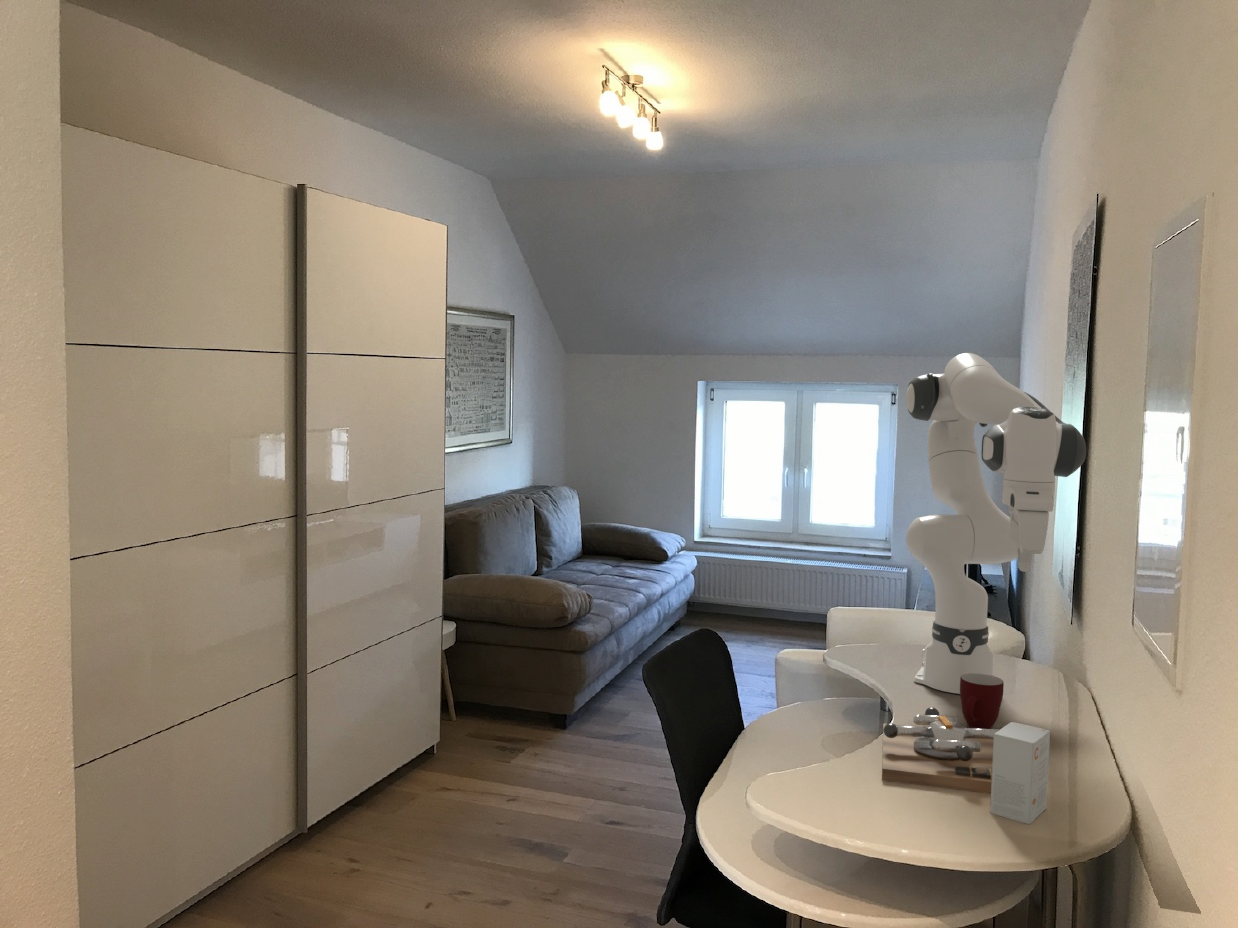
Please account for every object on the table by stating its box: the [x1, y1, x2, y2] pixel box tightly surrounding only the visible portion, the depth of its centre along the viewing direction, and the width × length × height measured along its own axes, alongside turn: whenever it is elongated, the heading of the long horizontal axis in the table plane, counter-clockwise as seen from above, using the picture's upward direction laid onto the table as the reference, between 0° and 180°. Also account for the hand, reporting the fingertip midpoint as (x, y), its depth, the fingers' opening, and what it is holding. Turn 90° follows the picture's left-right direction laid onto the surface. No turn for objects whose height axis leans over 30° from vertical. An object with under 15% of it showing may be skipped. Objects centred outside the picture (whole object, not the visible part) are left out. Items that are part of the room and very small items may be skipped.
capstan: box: [884, 706, 1004, 761], centre depth 177 cm, size 23×23×5 cm
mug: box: [959, 673, 1005, 729], centre depth 195 cm, size 11×8×10 cm
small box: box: [989, 721, 1051, 825], centre depth 157 cm, size 8×6×13 cm
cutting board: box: [881, 723, 993, 794], centre depth 178 cm, size 24×22×4 cm
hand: (1023, 570), depth 183 cm, fingers closed
